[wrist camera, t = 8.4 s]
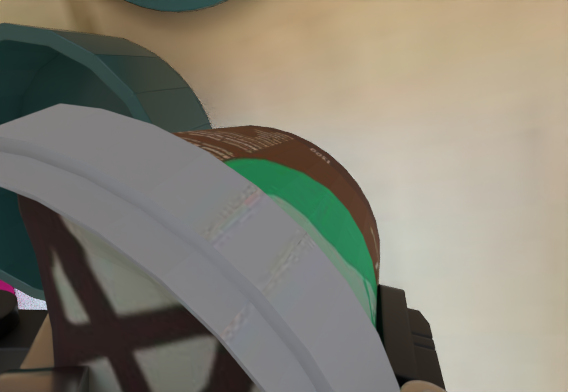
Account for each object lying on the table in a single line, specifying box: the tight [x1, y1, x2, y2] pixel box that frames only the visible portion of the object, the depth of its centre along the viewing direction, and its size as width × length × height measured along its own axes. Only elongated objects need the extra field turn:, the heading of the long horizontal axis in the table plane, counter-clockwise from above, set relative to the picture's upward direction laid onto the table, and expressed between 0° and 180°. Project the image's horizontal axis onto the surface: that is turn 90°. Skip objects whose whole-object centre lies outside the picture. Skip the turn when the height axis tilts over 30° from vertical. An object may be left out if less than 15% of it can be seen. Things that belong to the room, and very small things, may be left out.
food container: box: [0, 104, 400, 392], centre depth 10 cm, size 12×6×10 cm, turn 1°
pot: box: [0, 23, 212, 301], centre depth 25 cm, size 17×22×7 cm
